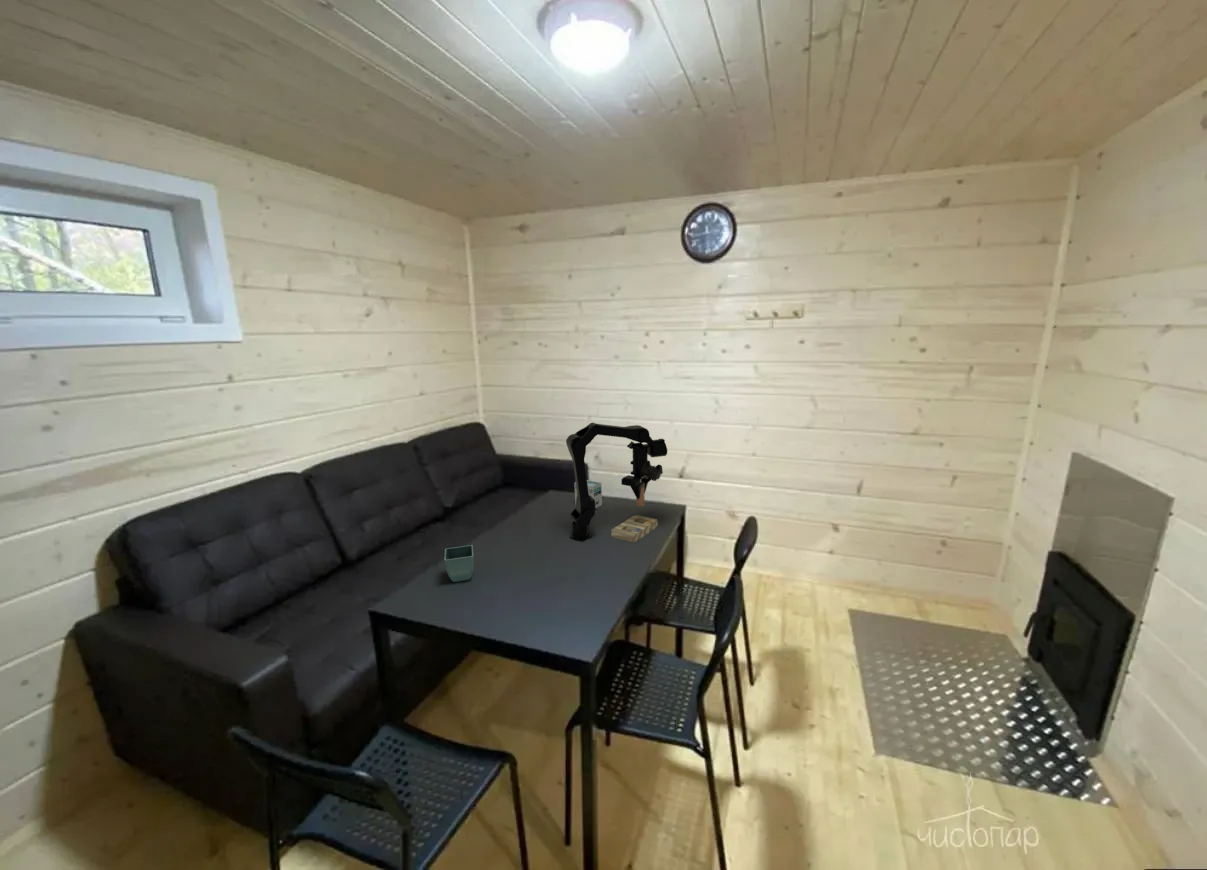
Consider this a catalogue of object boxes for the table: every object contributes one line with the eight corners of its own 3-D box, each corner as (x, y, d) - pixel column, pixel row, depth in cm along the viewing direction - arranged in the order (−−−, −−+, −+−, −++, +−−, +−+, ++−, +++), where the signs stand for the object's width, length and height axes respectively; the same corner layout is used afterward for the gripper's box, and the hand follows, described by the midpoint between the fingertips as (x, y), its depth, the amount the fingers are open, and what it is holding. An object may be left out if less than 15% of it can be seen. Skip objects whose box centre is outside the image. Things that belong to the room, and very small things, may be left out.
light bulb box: (602, 504, 228) (602, 481, 225) (594, 509, 222) (593, 486, 220) (583, 501, 233) (582, 478, 231) (574, 505, 228) (573, 482, 225)
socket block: (634, 542, 187) (634, 534, 187) (611, 537, 193) (611, 529, 192) (657, 526, 202) (657, 518, 201) (635, 521, 207) (635, 514, 207)
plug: (642, 507, 197) (641, 484, 195) (634, 505, 199) (634, 483, 197) (646, 504, 199) (646, 482, 198) (638, 503, 201) (638, 481, 199)
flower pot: (446, 586, 159) (444, 560, 157) (447, 573, 167) (444, 548, 165) (475, 582, 161) (473, 556, 159) (474, 569, 169) (472, 544, 167)
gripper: (646, 467, 183) (646, 508, 186) (670, 455, 198) (669, 493, 201) (620, 463, 189) (621, 503, 192) (644, 452, 204) (645, 489, 208)
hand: (640, 497), depth 198 cm, fingers closed on plug, 3 cm apart
